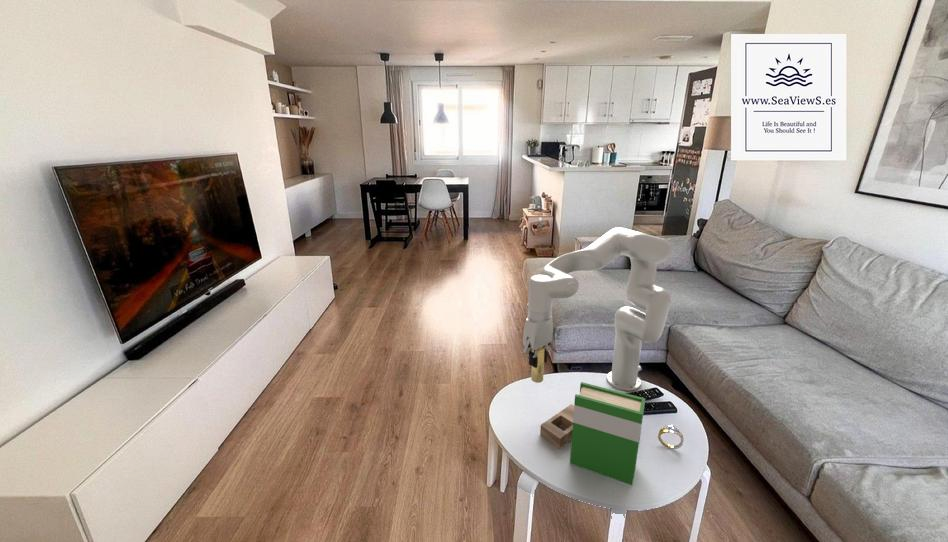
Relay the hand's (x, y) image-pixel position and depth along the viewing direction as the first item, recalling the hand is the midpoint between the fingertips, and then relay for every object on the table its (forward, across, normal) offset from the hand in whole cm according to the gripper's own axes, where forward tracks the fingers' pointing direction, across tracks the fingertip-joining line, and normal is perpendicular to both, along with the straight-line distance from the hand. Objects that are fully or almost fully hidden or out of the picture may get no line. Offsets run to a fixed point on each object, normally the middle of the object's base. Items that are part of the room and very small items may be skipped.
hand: (537, 362), depth 132 cm
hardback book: (+21, +2, +28) cm, 35 cm away
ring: (+21, -20, +38) cm, 47 cm away
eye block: (+21, -2, +11) cm, 24 cm away
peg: (+6, 0, 0) cm, 6 cm away
